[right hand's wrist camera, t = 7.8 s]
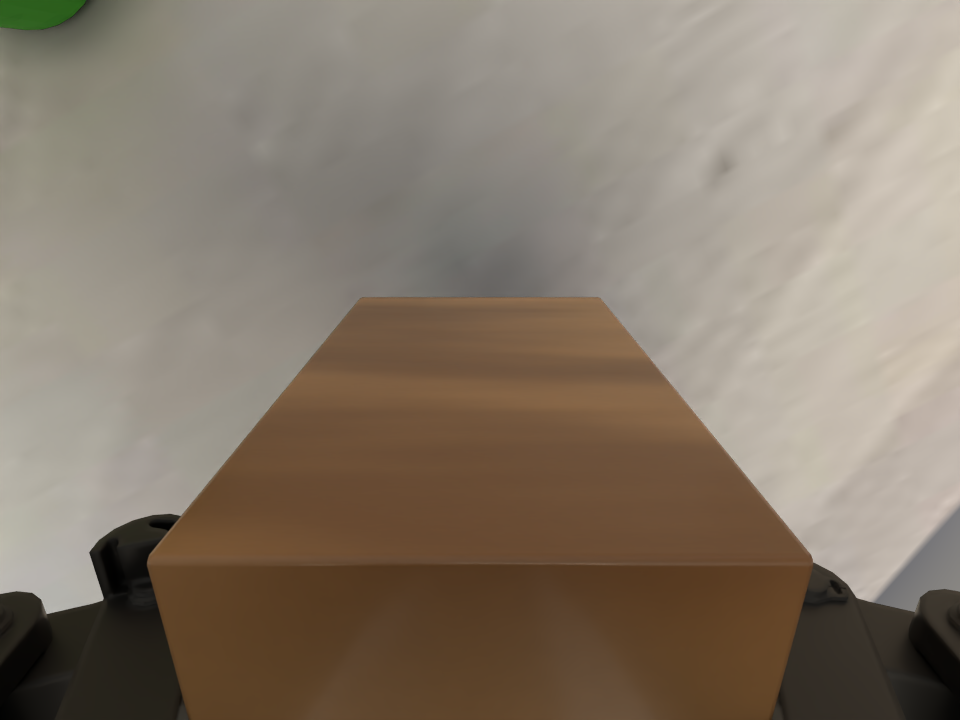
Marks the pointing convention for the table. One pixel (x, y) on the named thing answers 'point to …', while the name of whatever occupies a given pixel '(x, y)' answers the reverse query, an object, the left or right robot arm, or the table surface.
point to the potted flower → (36, 13)
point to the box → (480, 535)
